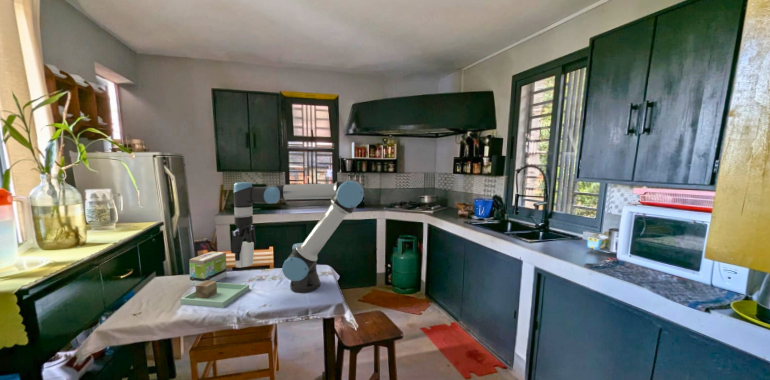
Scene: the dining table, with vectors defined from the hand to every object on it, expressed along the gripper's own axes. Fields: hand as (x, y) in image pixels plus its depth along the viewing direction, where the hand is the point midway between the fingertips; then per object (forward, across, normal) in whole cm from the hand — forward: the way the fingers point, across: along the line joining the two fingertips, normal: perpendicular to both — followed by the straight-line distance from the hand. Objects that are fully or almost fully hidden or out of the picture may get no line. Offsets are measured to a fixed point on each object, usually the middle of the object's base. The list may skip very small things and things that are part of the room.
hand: (244, 263), depth 131 cm
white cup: (+1, 0, 0) cm, 1 cm away
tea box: (+18, -17, -33) cm, 42 cm away
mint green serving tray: (+18, 0, -15) cm, 24 cm away
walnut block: (+17, 0, -21) cm, 27 cm away
